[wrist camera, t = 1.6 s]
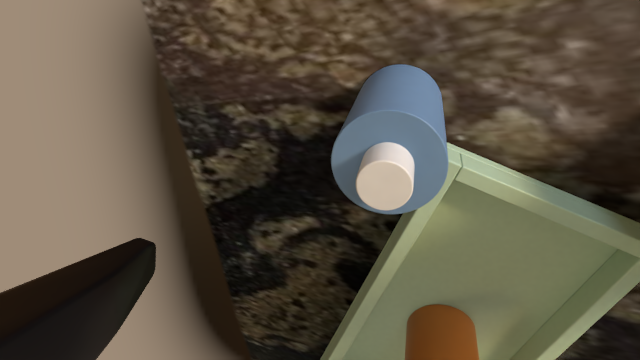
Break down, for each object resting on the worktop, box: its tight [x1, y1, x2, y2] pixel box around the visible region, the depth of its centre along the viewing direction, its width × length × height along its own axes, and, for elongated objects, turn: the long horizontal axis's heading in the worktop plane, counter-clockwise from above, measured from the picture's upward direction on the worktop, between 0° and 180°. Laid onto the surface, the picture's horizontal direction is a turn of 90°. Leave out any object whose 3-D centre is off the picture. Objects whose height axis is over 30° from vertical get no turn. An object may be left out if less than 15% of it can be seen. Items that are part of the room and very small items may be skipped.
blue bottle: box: [331, 64, 449, 214], centre depth 16 cm, size 4×4×8 cm
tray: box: [320, 143, 640, 360], centre depth 24 cm, size 11×21×2 cm, turn 161°
